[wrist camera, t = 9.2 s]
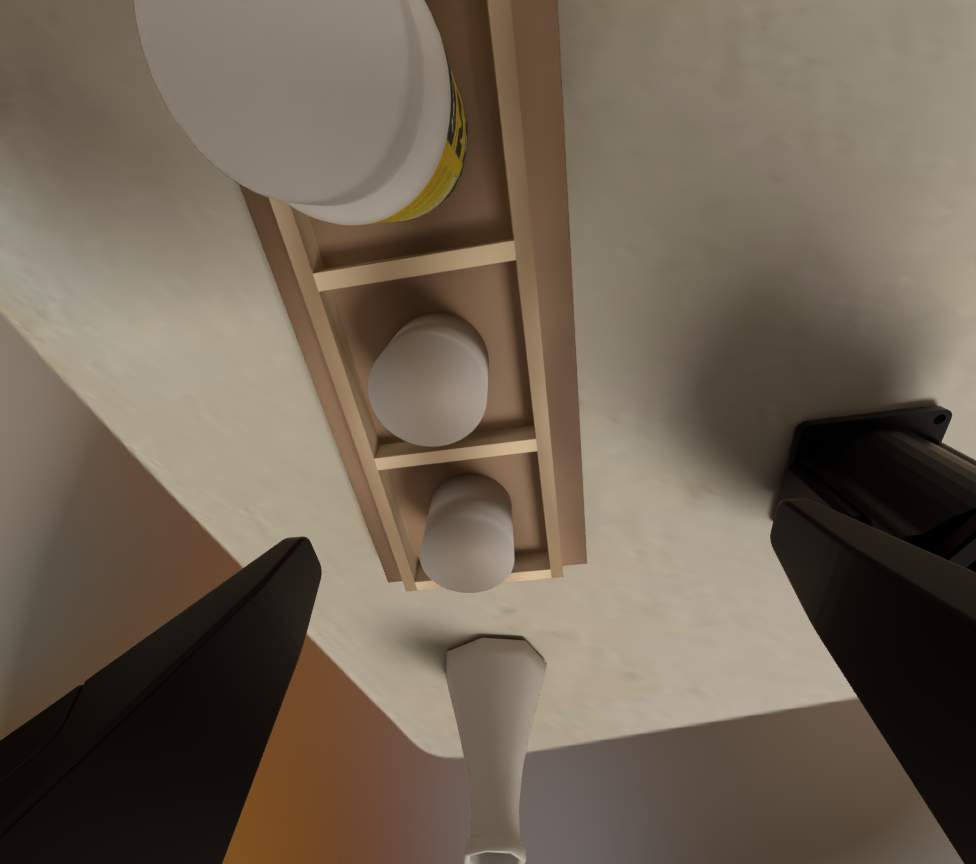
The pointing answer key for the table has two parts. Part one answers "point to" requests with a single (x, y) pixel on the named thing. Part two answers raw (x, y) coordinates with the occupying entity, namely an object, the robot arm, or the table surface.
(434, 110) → the supplement bottle
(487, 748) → the flask
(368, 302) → the socket tray
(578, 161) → the table surface
